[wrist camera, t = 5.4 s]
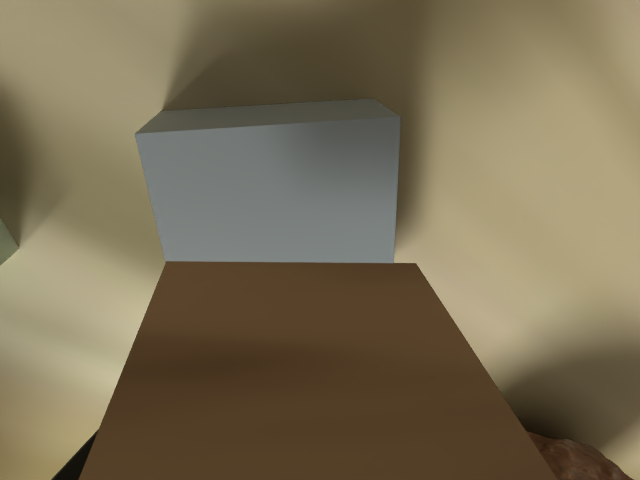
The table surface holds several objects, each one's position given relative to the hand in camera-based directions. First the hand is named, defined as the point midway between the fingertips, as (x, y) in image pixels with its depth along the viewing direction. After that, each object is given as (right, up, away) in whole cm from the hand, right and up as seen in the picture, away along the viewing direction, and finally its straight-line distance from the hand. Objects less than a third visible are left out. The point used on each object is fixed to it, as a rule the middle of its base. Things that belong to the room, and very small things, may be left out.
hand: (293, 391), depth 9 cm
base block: (-1, +5, +9) cm, 11 cm away
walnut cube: (0, 0, +1) cm, 1 cm away
